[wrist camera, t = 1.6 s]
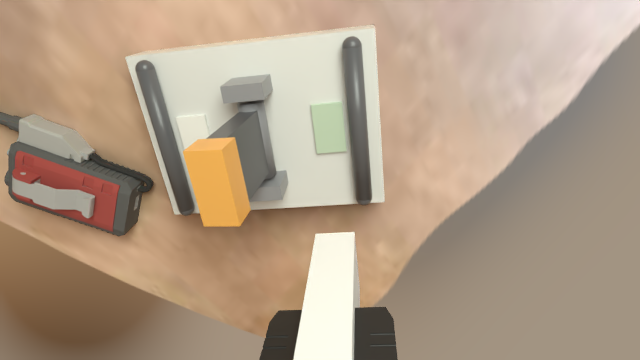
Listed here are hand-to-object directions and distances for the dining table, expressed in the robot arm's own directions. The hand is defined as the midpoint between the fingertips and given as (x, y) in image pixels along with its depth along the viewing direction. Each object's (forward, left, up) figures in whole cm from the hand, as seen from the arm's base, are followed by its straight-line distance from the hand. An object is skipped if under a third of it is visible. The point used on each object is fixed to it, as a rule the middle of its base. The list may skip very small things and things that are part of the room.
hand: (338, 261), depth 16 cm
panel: (0, -7, -20) cm, 21 cm away
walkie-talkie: (+2, -29, -21) cm, 36 cm away
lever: (0, -7, -16) cm, 17 cm away
